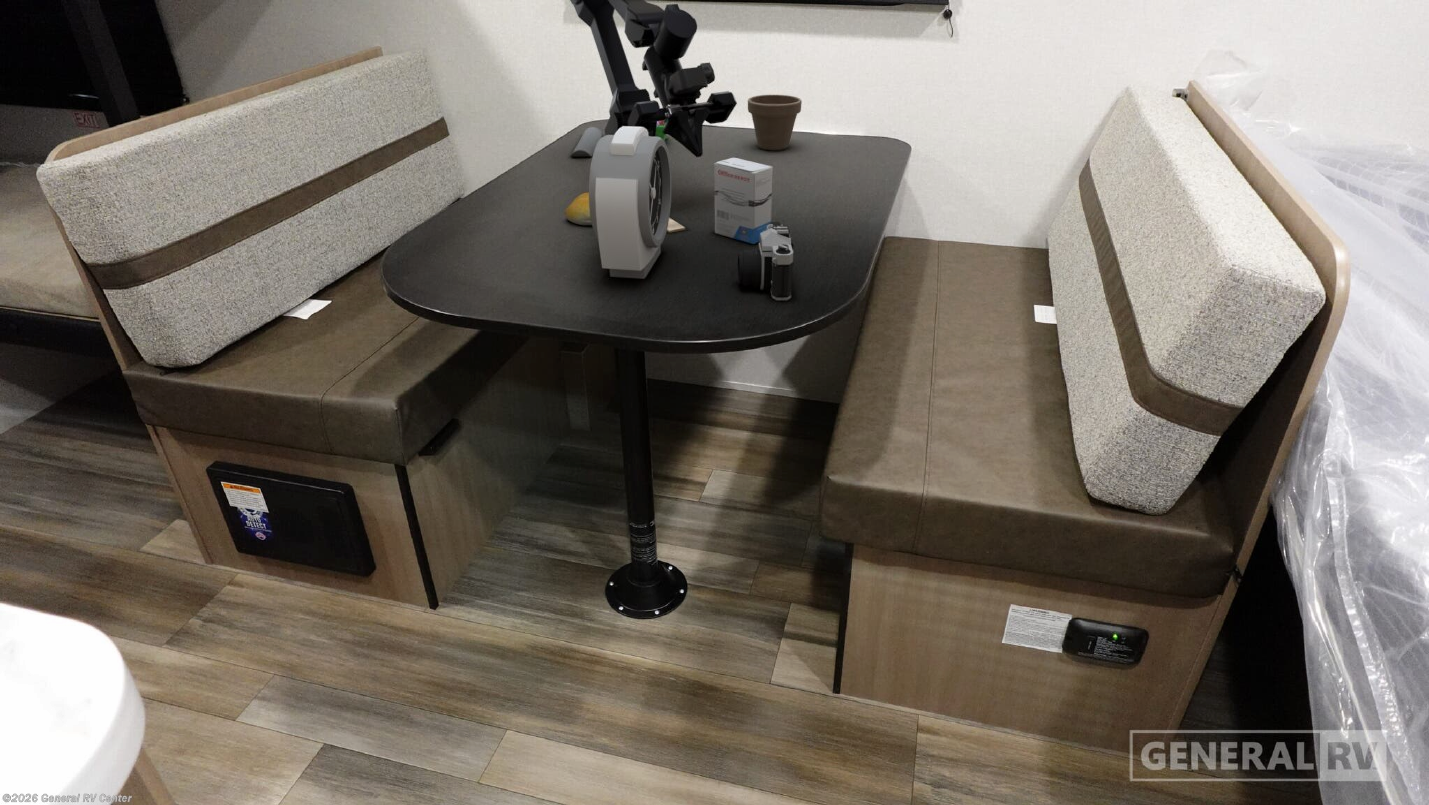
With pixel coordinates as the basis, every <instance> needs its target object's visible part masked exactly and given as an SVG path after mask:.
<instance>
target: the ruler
mask: <svg viewBox="0 0 1429 805" xmlns="http://www.w3.org/2000/svg"><path fill="white" fill-rule="evenodd" d="M685 230H686V227H685V226H683V225H682V224H681V223H679V222H678V221H676V220H674V219H672V218H671V217H669V222H668V228H667V231H666V233H669V234H671V233H676V232H680V231H681V232H682V231H685Z"/></svg>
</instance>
